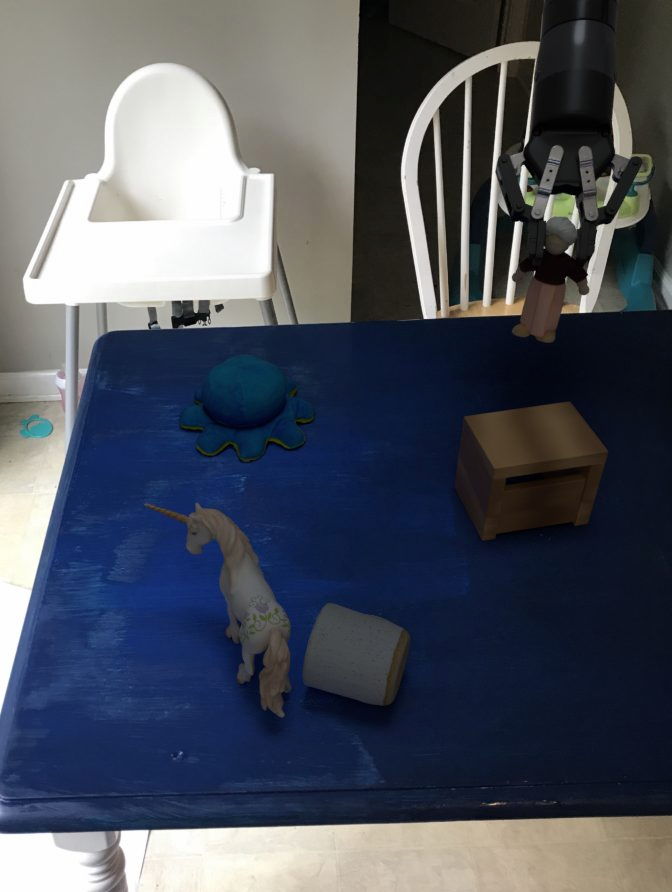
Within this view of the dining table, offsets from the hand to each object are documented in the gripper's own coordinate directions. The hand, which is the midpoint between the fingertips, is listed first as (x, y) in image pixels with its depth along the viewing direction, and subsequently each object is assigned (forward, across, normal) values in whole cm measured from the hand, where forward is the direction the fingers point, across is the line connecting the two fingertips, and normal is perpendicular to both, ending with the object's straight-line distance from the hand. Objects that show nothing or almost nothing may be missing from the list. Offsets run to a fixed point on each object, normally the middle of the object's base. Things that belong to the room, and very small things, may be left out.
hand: (558, 262), depth 79 cm
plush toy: (+14, +34, -23) cm, 43 cm away
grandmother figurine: (+5, 0, -8) cm, 9 cm away
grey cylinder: (+40, +15, +4) cm, 43 cm away
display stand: (+23, 0, -14) cm, 27 cm away
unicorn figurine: (+40, +28, +4) cm, 49 cm away
